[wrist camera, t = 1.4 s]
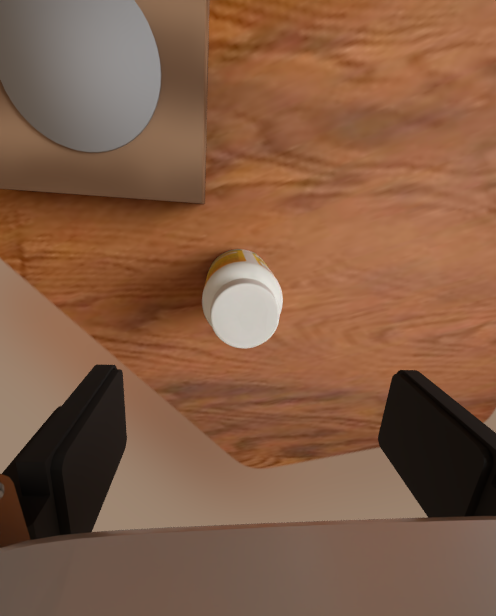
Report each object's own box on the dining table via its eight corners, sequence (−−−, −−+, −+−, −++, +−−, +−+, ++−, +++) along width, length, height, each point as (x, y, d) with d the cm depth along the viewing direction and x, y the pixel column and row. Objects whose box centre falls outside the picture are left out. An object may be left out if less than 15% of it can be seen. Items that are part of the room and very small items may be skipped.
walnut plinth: (-24, -59, 18) (-95, -136, 14) (209, -24, 20) (206, -84, 15) (16, 190, 22) (-29, 186, 18) (204, 203, 24) (201, 203, 20)
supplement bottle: (276, 257, 26) (305, 285, 17) (258, 314, 27) (276, 367, 18) (215, 240, 25) (211, 260, 16) (200, 300, 26) (189, 348, 17)
